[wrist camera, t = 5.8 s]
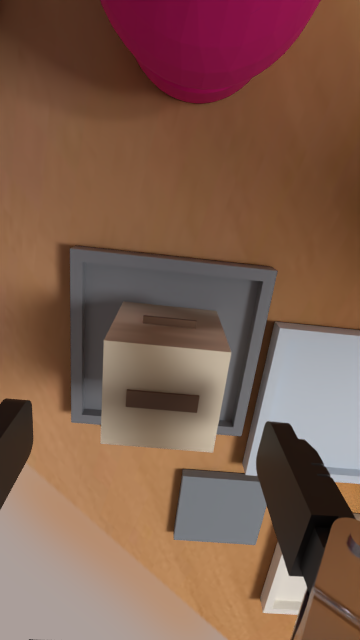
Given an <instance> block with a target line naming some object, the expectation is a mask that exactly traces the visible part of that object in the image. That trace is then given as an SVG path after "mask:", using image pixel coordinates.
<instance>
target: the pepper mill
mask: <svg viewBox="0 0 360 640" xmlns="http://www.w3.org/2000/svg"><path fill="white" fill-rule="evenodd" d="M100 1H101V4H102V7H103V9H104V11H105V13H106V15H107V17H108V19H109V21H110V23H111V25H112V27H113V28H114V30H115V31H116V33H117V34H118V36H119V37H120V39H121V40H122V41H123V43H124V44H125V45H126V47H127V48H128V49H129V50H130V52H131V53H132V54H133V55H134V56H135V58H136V60H137V62H138V64H139V66H140V67H141V69H142V70H143V71H144V73H145V74H146V75H147V77H148V78H149V79H150V80H151V81H152V82H153V83H154V84H155V85H156V86H157V87H158V88H159V89H160V90H162V91H163V92H165V93H166V94H168V95H170V96H172V97H174V98H176V99H179V100H182V101H185V102H190V103H210V102H215V101H218V100H221V99H224V98H226V97H228V96H230V95H232V94H234V93H235V92H237V91H238V90H240V89H241V88H242V87H243V86H244V85H245V84H247V83H248V82H249V81H250V79H251V78H252V77H254V76H256V75H258V74H259V73H261V72H262V71H264V70H265V69H267V68H268V67H270V66H271V65H272V64H273V63H274V62H275V61H276V60H278V59H279V58H280V57H281V56H282V55H283V54H284V53H285V52H286V51H287V50H288V49H289V47H290V46H291V45H292V44H293V43H294V42H295V40H296V39H297V38H298V37H299V35H300V34H301V32H302V31H303V29H304V27H305V26H306V24H307V23H308V21H309V20H310V18H311V16H312V15H313V13H314V11H315V9H316V8H317V6H318V4H319V2H320V1H321V0H100Z"/></svg>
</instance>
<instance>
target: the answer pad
mask: <svg viewBox="0 0 360 640" xmlns="http://www.w3.org/2000/svg"><path fill="white" fill-rule="evenodd" d="M266 506H267V504H266V501H265V498H264V495H263V492H262V488H261V485H260V482H259V479H258V476H252V475H245V474H242V473H229V472H216V471H203V470H190V469H183V472H182V479H181V486H180V492H179V499H178V506H177V513H176V520H175V526H174V540H187V541H202V542H218V543H233V544H248V545H256V541H257V538H258V534H259V531H260V527H261V524H262V520H263V516H264V513H265V509H266Z"/></svg>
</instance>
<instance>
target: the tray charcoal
mask: <svg viewBox="0 0 360 640" xmlns="http://www.w3.org/2000/svg"><path fill="white" fill-rule="evenodd" d="M276 276H277V270H276V269H274V268H273V267H268V266H259V265H250V264H241V263H232V262H223V261H214V260H204V259H195V258H186V257H177V256H168V255H159V254H149V253H140V252H131V251H122V250H113V249H104V248H95V247H85V246H74V247H72V248H70V316H71V422H74V423H86V424H98V425H101V414H102V382H103V349H104V339H105V337H106V335H107V333H108V331H109V329H110V327H111V325H112V323H113V321H114V319H115V317H116V315H117V313H118V311H119V309H120V307H121V305H122V303H123V301H124V302H133V303H143V304H153V305H163V306H173V307H183V308H193V309H202V310H212V311H217V314H218V316H219V319H220V322H221V325H222V327H223V330H224V333H225V336H226V339H227V341H228V344H229V347H230V350H231V358H230V363H229V369H228V374H227V379H226V385H225V390H224V396H223V401H222V406H221V412H220V417H219V423H218V428H217V433H216V434H220V435H232V436H242V431H243V426H244V422H245V417H246V413H247V408H248V404H249V399H250V394H251V390H252V385H253V381H254V376H255V372H256V367H257V363H258V358H259V353H260V349H261V344H262V340H263V335H264V331H265V326H266V321H267V317H268V312H269V308H270V303H271V299H272V294H273V289H274V285H275V280H276Z"/></svg>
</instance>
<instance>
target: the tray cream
mask: <svg viewBox="0 0 360 640" xmlns="http://www.w3.org/2000/svg"><path fill="white" fill-rule="evenodd" d="M353 515H354V516H355V518H356V520H359V521H360V514H358V513H353ZM306 589H307V586H306V583H305V580H304V577H298V576H289V575H288V571H287V568H286V565H285V562H284V559H283V555H282V552H281V549H280V546H279V543H278V542H277V545H276V548H275V552H274V555H273V558H272V561H271V565H270V568H269V571H268V574H267V577H266V581H265V584H264V587H263V590H262V593H261V597H260V601H261V606H262V610H263V613H276V614H294V615H298V613H299V610H300V607H301V603H302V600H303V597H304V594H305V591H306Z"/></svg>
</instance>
